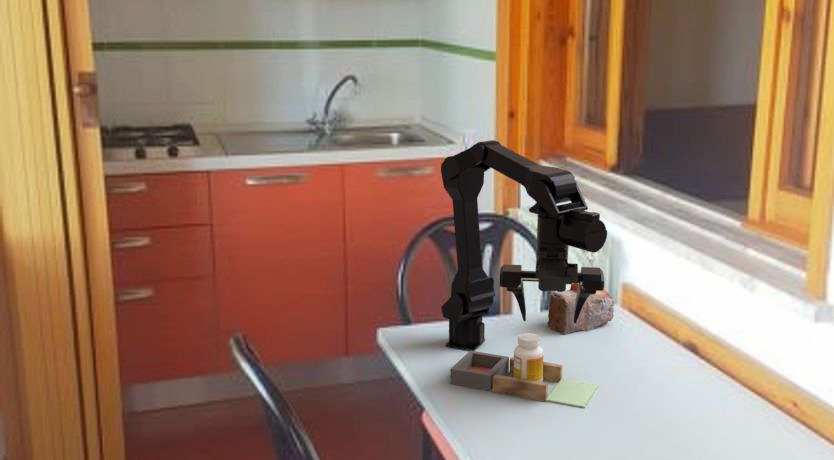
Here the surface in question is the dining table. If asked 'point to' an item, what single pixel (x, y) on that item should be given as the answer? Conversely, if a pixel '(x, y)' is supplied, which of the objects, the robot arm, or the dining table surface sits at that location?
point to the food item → (591, 315)
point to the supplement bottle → (528, 358)
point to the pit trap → (478, 370)
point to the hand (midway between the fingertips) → (549, 321)
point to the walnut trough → (527, 383)
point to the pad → (572, 393)
